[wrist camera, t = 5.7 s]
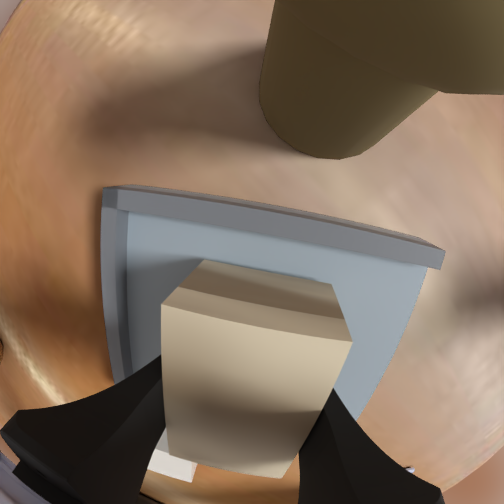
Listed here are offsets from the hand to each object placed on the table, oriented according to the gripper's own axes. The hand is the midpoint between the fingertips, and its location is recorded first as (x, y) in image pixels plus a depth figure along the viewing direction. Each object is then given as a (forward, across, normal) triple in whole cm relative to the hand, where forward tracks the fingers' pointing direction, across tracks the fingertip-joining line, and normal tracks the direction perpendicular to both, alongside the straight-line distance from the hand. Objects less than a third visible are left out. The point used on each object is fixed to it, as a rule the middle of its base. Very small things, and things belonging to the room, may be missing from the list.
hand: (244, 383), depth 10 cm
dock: (+4, 0, 0) cm, 4 cm away
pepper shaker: (+4, -1, -12) cm, 13 cm away
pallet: (+2, 0, 0) cm, 2 cm away
